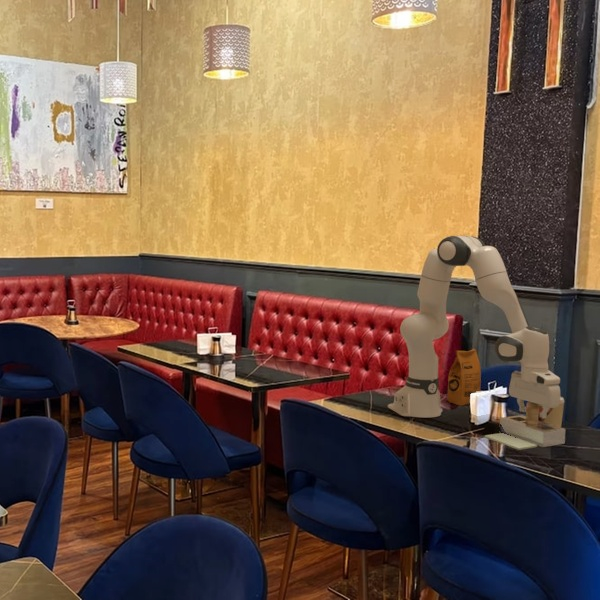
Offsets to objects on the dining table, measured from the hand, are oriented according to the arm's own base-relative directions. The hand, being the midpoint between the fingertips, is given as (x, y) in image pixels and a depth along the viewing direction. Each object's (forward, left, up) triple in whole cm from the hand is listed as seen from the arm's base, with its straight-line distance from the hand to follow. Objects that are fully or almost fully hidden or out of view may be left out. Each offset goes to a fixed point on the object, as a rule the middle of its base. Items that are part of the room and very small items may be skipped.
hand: (532, 414), depth 245 cm
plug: (0, 0, -8) cm, 8 cm away
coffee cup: (-4, +12, -8) cm, 15 cm away
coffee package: (-50, +12, -8) cm, 52 cm away
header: (0, 0, -8) cm, 8 cm away
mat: (+1, -11, -8) cm, 13 cm away
